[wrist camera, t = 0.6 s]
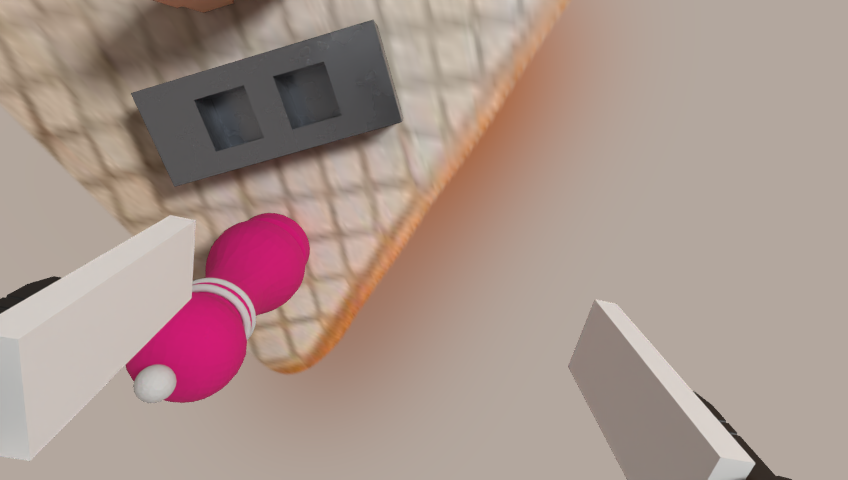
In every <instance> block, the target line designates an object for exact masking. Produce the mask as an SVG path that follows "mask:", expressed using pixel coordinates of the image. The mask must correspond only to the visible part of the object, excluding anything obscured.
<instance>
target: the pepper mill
mask: <svg viewBox="0 0 848 480" xmlns="http://www.w3.org/2000/svg"><path fill="white" fill-rule="evenodd" d="M309 253H310V247H309V242H308V239H307V236H306V234H305V232H304V231H303V229H302V228H301V227H300V226H299V225H298V224H297V223H296V222H295V221H293V220H292V219H290V218H288V217H286V216H284V215H280V214H275V213H265V214H260V215H257V216H255V217H253V218H251V219H250V220H248V221H245V222H241V223H238V224H236V225H233V226H232V227H230V228H228V229H227V230H225V231H224V233H223V234H222V235H221V236H220V237H219V238H218V239H217V240H216V241H215V242H214V244H213V246H212V247H211V250H210V253H209V255H208V258H207V262H206V277H205V278H201V279H197V280H194V281H193V283H192V298H191V299H190V300H189V301H188V302H187V303H186V304H185V305H184V306H183V307H182V308H181V309H180V310H179V311H178V312H177V313H176V314H175V315H174V316H173V317H172V318H171V319H170V320H169V321H168V322H167V323H166V324H165V325H164V326H163V328H162V329H161V330H160V331H159V332H158V333H157V334H156V335H155V336H154V337H153V338H152V339H151V340H150V341H149V342H148V343H147V344H146V345H145V346H144V347H143V348H142V349H141V350H140V351H139V352H138V353H137V354H136V355H135V356H134V357H133V358H132V359H131V360H130V361H129V362H128V363H127V364H126V368H127V371H128V373H129V374H130V376H131V378H132V379H133V381H134V392H135V394H136V396H137V397H138V398H139V399H140V400H142V401H143V402H147V403H157V402H160V401H162V400H165V401H170V402H180V403H184V402H194V401H198V400H201V399H205V398H206V397H209V396H211V395H212V394H214V393H216V392H218V391H219V390H221V389H222V388H223V387H224V386H226V385H227V384H228V383H229V381H230V380H231V379H232V378H233V377H234V376H235V375H236V374H237V372H238V370H239V368H240V367H241V364H242V363H243V360H244V357H245V355H246V346H247V340H248V339H249V337H250V336H251V334H252V333H253V331H254V328H255V325H256V316H257V315H259V314H263V313H266V312H269V311H272V310H274V309H276V308H278V307H279V306H281V305H283V304H284V303H285V302H287V301H288V300H289V299H290V298H291V297H292V296H293V294H294V293H295V292H296V291H297V290H298V288H299V287H300V285H301V283H302V280H303V277H304V272H305V265H306V263H307V261H308V258H309Z"/></svg>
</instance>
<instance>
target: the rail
mask: <svg viewBox="0 0 848 480" xmlns="http://www.w3.org/2000/svg"><path fill="white" fill-rule="evenodd" d="M131 95H132V97H133V99H134V101H135V103H136V105H137V107H138V110H139V112H140V114H141V116H142V118H143V120H144V122H145V125H146V127H147V129H148V131H149V133H150V135H151V137H152V140H153V142H154V144H155V146H156V148H157V150H158V152H159V155H160V157H161V159H162V161H163V163H164V165H165V167H166V170H167V172H168V174H169V176H170V178H171V180H172V182H173V185H174V187H175V186H178V185H182V184H186V183H189V182H193V181H196V180H200V179H203V178H207V177H210V176H214V175H217V174H221V173H224V172H228V171H231V170H235V169H238V168H242V167H245V166H249V165H252V164H256V163H259V162H263V161H266V160H270V159H273V158H277V157H280V156H284V155H287V154H291V153H294V152H298V151H301V150H305V149H308V148H312V147H316V146H319V145H323V144H326V143H330V142H333V141H337V140H340V139H344V138H347V137H351V136H354V135H358V134H361V133H365V132H368V131H372V130H375V129H379V128H382V127H386V126H389V125H393V124H396V123H400V122H402V121H403V115H402V112H401V108H400V105H399V101H398V97H397V94H396V90H395V87H394V83H393V80H392V76H391V72H390V69H389V65H388V62H387V58H386V55H385V51H384V47H383V44H382V40H381V37H380V33H379V30H378V26H377V24H376V23H375V22H374V20H371V21H367V22H364V23H361V24H357V25H354V26H351V27H348V28H344V29H341V30H338V31H334V32H331V33H328V34H324V35H321V36H318V37H315V38H311V39H308V40H305V41H301V42H298V43H295V44H291V45H288V46H285V47H282V48H278V49H275V50H272V51H268V52H265V53H262V54H259V55H255V56H252V57H249V58H245V59H242V60H239V61H235V62H232V63H229V64H226V65H222V66H219V67H216V68H212V69H209V70H206V71H202V72H199V73H196V74H193V75H189V76H186V77H183V78H179V79H176V80H173V81H170V82H166V83H163V84H160V85H156V86H153V87H150V88H146V89H143V90H140V91H137V92H133V93H131Z"/></svg>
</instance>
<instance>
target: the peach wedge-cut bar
mask: <svg viewBox="0 0 848 480" xmlns="http://www.w3.org/2000/svg"><path fill="white" fill-rule="evenodd" d="M154 1H157V2H160V3H163V4H166V5H170V6H173V7H176V8H179V7H182V6H184V7H187V8H190V9H193V10H196V11H199V12H202V13H204V12H207V11H210V10H213V9H217V8H220V7H223V6H226V5H229V4H233V3H234V1H233V0H154Z"/></svg>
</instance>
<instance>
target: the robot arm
mask: <svg viewBox="0 0 848 480" xmlns="http://www.w3.org/2000/svg"><path fill="white" fill-rule="evenodd" d="M195 225H196V220H192V219H187V218H182V217H177V216H172V215H170V216H168V217H166V218H165V219H163V220H161V221H159V222H158V223H156V224H154V225H153V226H151V227H149V228H147V229H146V230H144V231H142V232H140V233H139V234H137V235H135V236H134V237H132V238H130V239H128V240H127V241H125V242H123V243H122V244H120V245H118V246H116V247H115V248H113V249H111V250H109V251H108V252H106V253H104V254H103V255H101V256H99V257H98V258H96V259H94V260H92V261H91V262H89V263H87V264H85V265H84V266H82V267H80V268H79V269H77V270H75V271H73V272H72V273H70V274H68V275H66V276H65V277H63V278H60V277H50V278H47V279H43V280H40V281H36V282H33V283H30V284H27V285H25V286H23V287H21V288H19V289H18V290H16V291H14V292H12V293H10V294H8V295H7V297H6V298H1V299H0V456H1V457H8V458H15V459H22V460H29V461H31V459H33V458H34V456H35V455H36V454H37V453H38V452H39V451H40V450H41V449H42V448H43V447H44V446H45V445H46V444H47V443H48V442H49V441H50V440H51V439H52V438H53V437H54V436H55V435H56V434H57V433H58V432H59V431H60V430H61V429H62V428H63V427H64V426H65V425H66V424H67V423H68V422H69V421H70V420H71V419H72V418H73V417H74V416H75V415H76V414H77V413H78V412H79V411H80V410H81V409H82V408H83V407H84V406H85V405H86V404H87V403H88V402H89V401H90V400H91V399H92V398H93V397H94V396H95V395H96V394H97V393H98V392H99V391H100V390H101V389H102V388H103V387H104V386H105V385H106V383H108V382H109V381H110V380H111V379H112V378H113V377H114V376H115V375H116V374H117V373H118V372H119V371H120V370H121V369H122V368H123V367H124V366H125V365H126V364H127V363H128V362H129V361H130V360H131V359H132V358H133V357H134V356H135V355H136V354H137V353H138V352H139V351H140V350H141V349H142V348H143V347H144V346H145V345H146V344H147V343H148V342H149V341H150V340H151V339H152V338H153V337H154V336H155V335H156V334H157V333H158V332H159V331H160V330H161V329H162V328H163V326H164V325H165V324H166V323H167V322H168V321H169V320H170V319H171V318H172V317H173V316H174V315H175V314H176V313H177V312H178V311H179V310H180V309H181V308H182V307H183V306H184V305H185V304H186V303H187V302H188V301H189V300H190V299H191V298H192V283H193V263H194V244H195ZM568 367H569V369H570V371H571V373H572V375H573V377H574V379H575V381H576V383H577V385H578V387H579V388H580V390H581V392H582V394H583V396H584V398H585V400H586V402H587V404H588V405H589V408H590V410H591V412H592V413H593V415H594V417H595V419H596V421H597V423H598V425H599V427H600V429H601V431H602V432H603V434H604V436H605V438H606V440H607V442H608V444H609V446H610V448H611V450H612V452H613V454H614V456H615V457H616V459H617V461H618V463H619V465H620V467H621V469H622V471H623V473H624V475H625V476H626V479H627V480H792V479H789V478H785V477H781V476H775V475H774V474H773V473H772V471H771V470H770V469H769V468H768V467H767V466H766V465H765V464H764V462H763V461H762V460H761V459H760V458H759V457H758V456H757V455H756V454H755V452H754V451H753V450H752V449H751V448H750V447H749V446H748V445H747V443H746V442H745V441H744V440H743V439H742V438H741V437H740V436H737V432H736V431H735V430H734V429H733V428H732V427H731V426H730V425H729V423H726V420H725V419H724V418H723V417H722V416H721V414H720V413H719V412H718V411H717V410H716V409H715V408H714V407H713V406H712V405H711V404H710V403H709V402H707V401H706V400H705V399H703V398H702V397H701V396H699V395H698V394H697V393H696V392H694V391H692V390H691V389H690V388H689V386H688V385H687V384H686V383H685V382H684V381H683V380H682V379H681V377H680V376H679V375H678V374H677V373H676V372H675V370H674V369H673V368H672V367H671V366H670V365H669V364H668V363H667V361H666V360H665V359H664V358H663V357H662V356H661V354H660V353H659V352H658V351H657V350H656V349H655V348H654V346H653V345H652V344H651V343H650V342H649V341H648V339H647V338H646V337H645V336H644V335H643V334H642V333H641V331H640V330H639V329H638V328H637V327H636V326H635V325H634V323H633V322H632V321H631V320H630V319H629V318H628V317H627V315H625V313H624V312H623V311H622V310H621V309H620V307H619V306H618V305H617V304H616V303H611V302H605V301H600V300H596V299H595V300H594V303H593V305H592V308H591V310H590V313H589V315H588V318H587V320H586V323H585V325H584V328H583V330H582V333H581V335H580V338H579V340H578V343H577V346H576V348H575V350H574V353H573V355H572V358H571V361H570V363H569V366H568Z"/></svg>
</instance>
